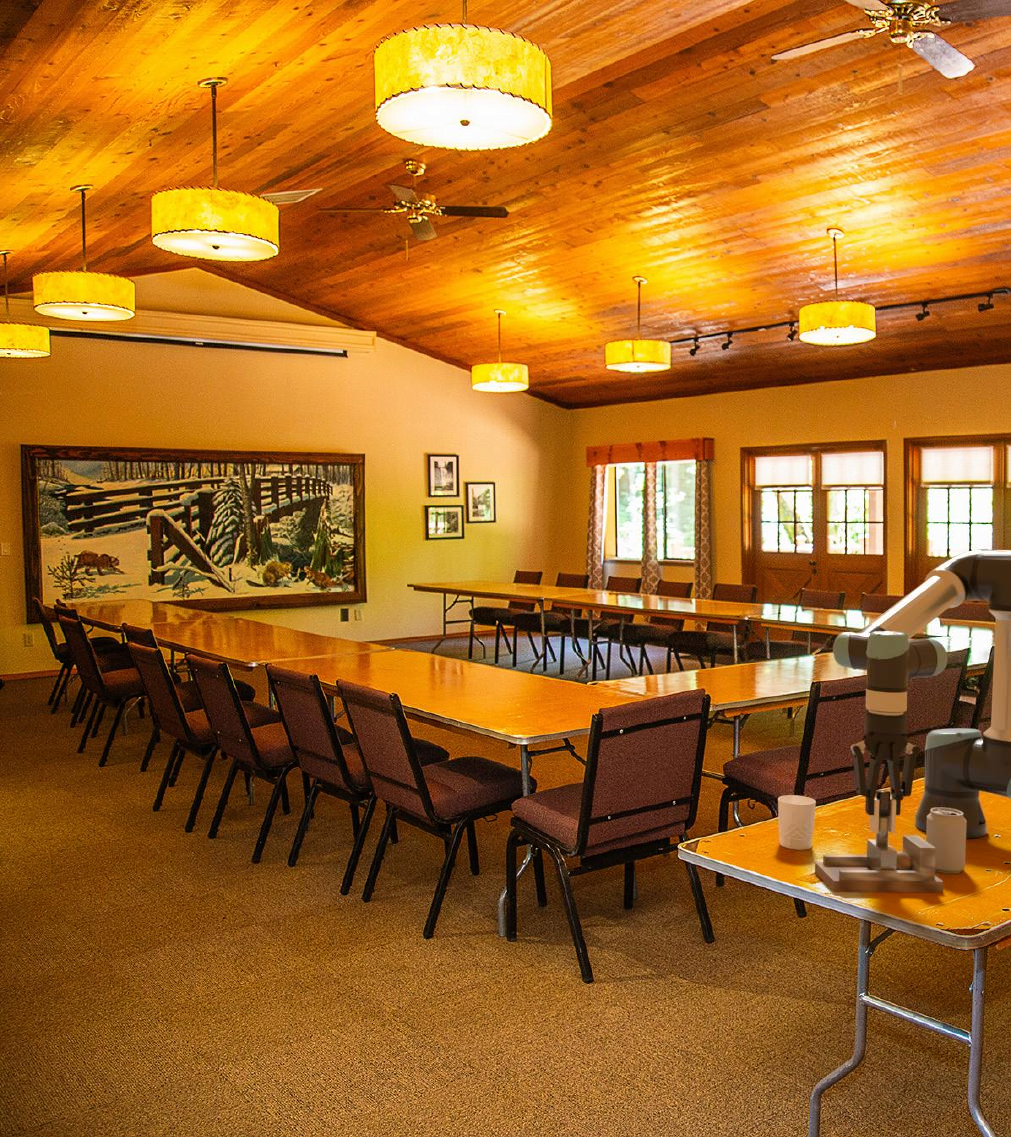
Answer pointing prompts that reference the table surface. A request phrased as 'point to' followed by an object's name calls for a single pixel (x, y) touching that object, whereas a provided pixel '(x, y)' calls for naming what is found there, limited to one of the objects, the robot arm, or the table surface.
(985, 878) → the table surface
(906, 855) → the tan ball
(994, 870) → the table surface
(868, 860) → the ram
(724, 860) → the table surface
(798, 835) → the white cup
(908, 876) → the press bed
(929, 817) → the can
